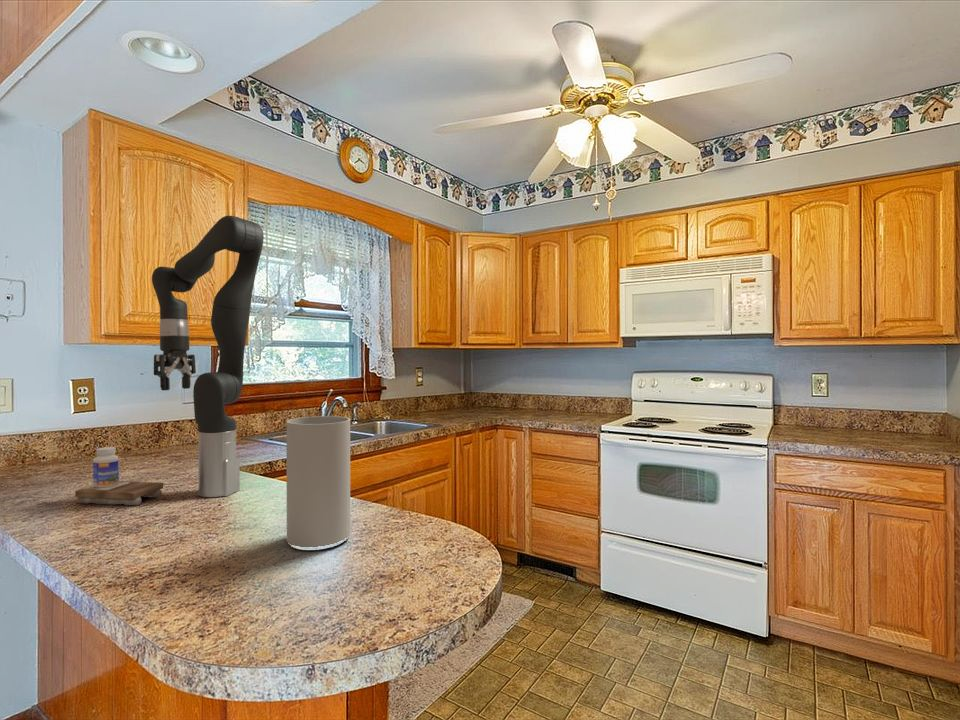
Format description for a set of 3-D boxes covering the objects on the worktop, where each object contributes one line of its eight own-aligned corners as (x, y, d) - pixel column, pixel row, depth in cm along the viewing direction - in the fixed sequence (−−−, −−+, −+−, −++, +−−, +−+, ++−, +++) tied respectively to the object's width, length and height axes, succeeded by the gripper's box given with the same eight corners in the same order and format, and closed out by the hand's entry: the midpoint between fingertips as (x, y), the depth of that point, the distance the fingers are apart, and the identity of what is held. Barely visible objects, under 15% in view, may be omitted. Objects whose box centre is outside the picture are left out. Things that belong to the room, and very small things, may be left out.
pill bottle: (97, 489, 128) (96, 451, 128) (90, 485, 131) (89, 448, 131) (122, 484, 132) (121, 447, 132) (114, 481, 136) (114, 445, 135)
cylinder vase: (286, 533, 108) (286, 417, 107) (346, 526, 112) (346, 415, 112) (286, 556, 96) (286, 425, 96) (353, 547, 100) (353, 422, 100)
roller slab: (163, 495, 135) (162, 481, 135) (133, 507, 126) (133, 492, 125) (108, 493, 137) (108, 480, 137) (75, 504, 127) (75, 490, 127)
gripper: (168, 333, 142) (170, 390, 142) (202, 335, 156) (203, 387, 156) (144, 334, 143) (145, 391, 143) (180, 336, 157) (181, 388, 157)
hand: (176, 389), depth 150 cm, fingers open, 8 cm apart
